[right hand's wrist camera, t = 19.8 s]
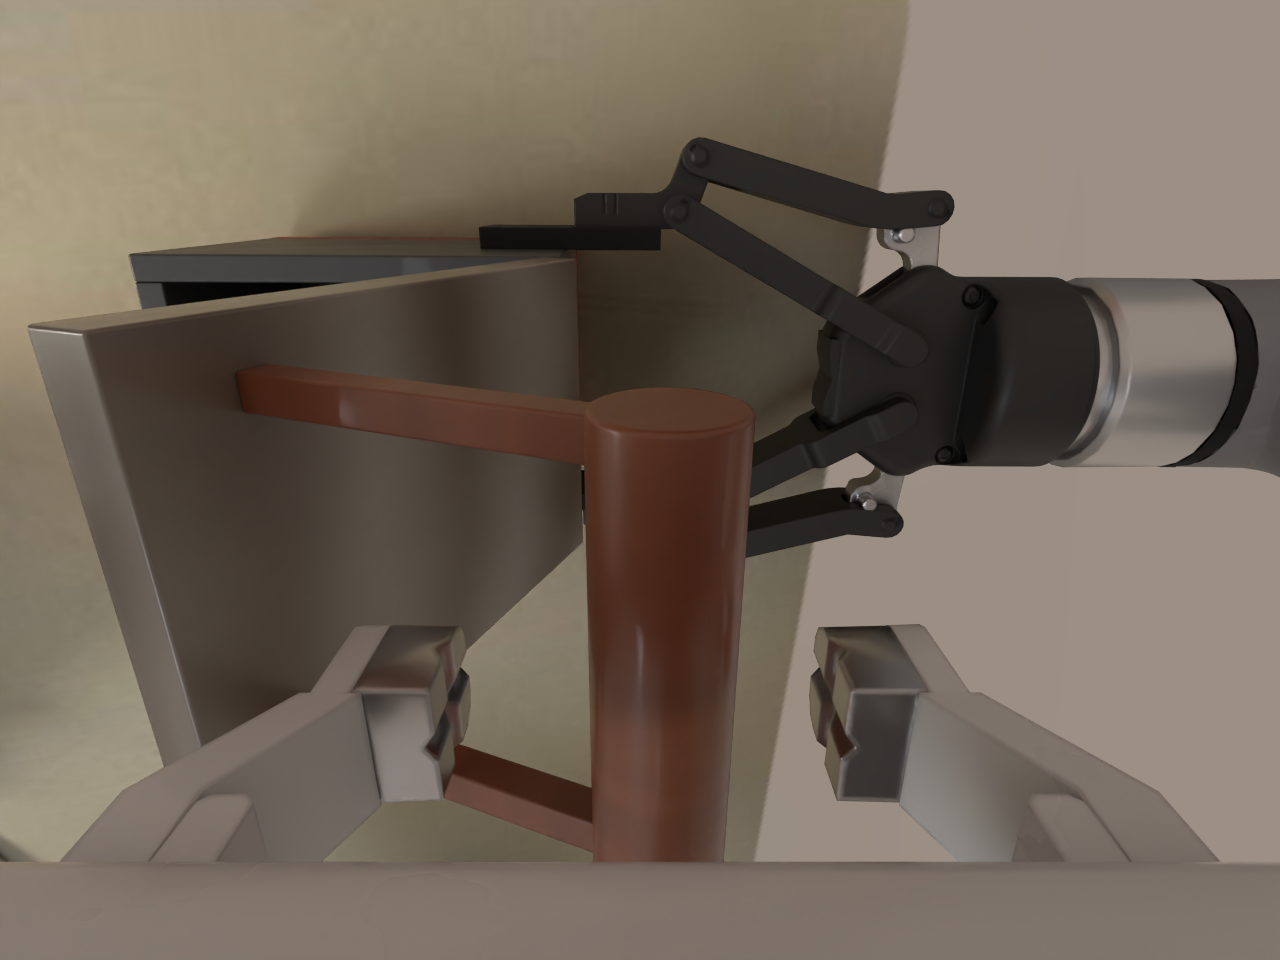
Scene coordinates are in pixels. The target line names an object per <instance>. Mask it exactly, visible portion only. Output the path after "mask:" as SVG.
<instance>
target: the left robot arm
mask: <svg viewBox="0 0 1280 960" xmlns="http://www.w3.org/2000/svg"><path fill="white" fill-rule="evenodd" d="M708 182H710V183H713V184H716V185H720V186H723V187H726V188H730V189H733V190H736V191H740V192H743V193H746V194H750V195H753V196H756V197H760V198H763V199H767V200H770V201H773V202H777V203H780V204H783V205H787V206H790V207H793V208H797V209H800V210H803V211H807V212H810V213H813V214H817V215H820V216H823V217H827V218H830V219H833V220H837V221H840V222H844V223H847V224H851V225H856V226H862V227H870V228H877V240H878V242H879V244H880V245H881V246H882V247H884V248H886V249H891V250H895V251H896V252H898V253H899V254H900V255H901V257H902V260H903V267H901V268H899V269H898V270H896V271H895V272H893V273H892V274H890V275H889V276H887V277H886V278H884V279H883V280H882V281H880V282H879V283H877V284H876V285H874V286H873V287H871V288H870V289H868V290H867V291H865V292H864V293H862V294H861V295H859V296H858V297H855V296H854V295H852V294H850V293H849V292H847V291H845V290H844V289H842V288H840V287H838V286H837V285H835V284H833V283H831V282H830V281H828V280H826V279H825V278H823V277H821V276H820V275H818V274H816V273H815V272H813V271H811V270H810V269H808V268H806V267H805V266H803V265H801V264H800V263H798V262H796V261H795V260H793V259H791V258H790V257H788V256H787V255H785V254H783V253H782V252H780V251H778V250H777V249H775V248H773V247H772V246H770V245H768V244H767V243H765V242H763V241H762V240H760V239H758V238H757V237H755V236H753V235H752V234H750V233H748V232H747V231H745V230H744V229H742V228H740V227H739V226H737V225H735V224H734V223H732V222H730V221H729V220H727V219H725V218H724V217H722V216H720V215H719V214H717V213H715V212H714V211H712V210H710V209H709V208H707V207H706V206H704V205H702V204H701V203H700V202H701V199H702V196H703V194H704V191H705V188H706V186H707V183H708ZM953 211H954V200H953V198H952V196H951V195H950V194H949V193H947V192H946V191H940V190H933V191H910V192H899V193H884V192H881V191H877V190H874V189H871V188H868V187H864V186H861V185H858V184H855V183H851V182H848V181H845V180H841V179H838V178H835V177H832V176H828V175H825V174H822V173H818V172H815V171H812V170H809V169H805V168H802V167H799V166H795V165H792V164H789V163H786V162H782V161H779V160H776V159H773V158H769V157H766V156H763V155H759V154H756V153H753V152H750V151H746V150H743V149H740V148H736V147H733V146H730V145H727V144H723V143H720V142H717V141H713V140H710V139H707V138H699V137H698V138H695V139H693V140H691V141H690V142H689V143H688V144H687V145H686V146H685V147H684V149H683V150H682V152H681V154H680V158H679V160H678V163H677V166H676V169H675V172H674V175H673V177H672V180H671V182H670V184H669V185H668V186H667V187H666V188H665V189H664V190H663V191H661V192H658V193H587V194H585V195H582V196H580V197H578V198H575V199H574V213H575V225H490V226H484V227H479V235H480V248H481V249H565V250H660V247H661V229H675V230H676V231H678V232H680V233H681V234H683V235H685V236H686V237H688V238H690V239H691V240H693V241H695V242H696V243H698V244H700V245H702V246H703V247H705V248H707V249H708V250H710V251H712V252H713V253H715V254H717V255H718V256H720V257H722V258H723V259H725V260H727V261H729V262H730V263H732V264H734V265H735V266H737V267H739V268H740V269H742V270H744V271H745V272H747V273H749V274H750V275H752V276H754V277H756V278H757V279H759V280H761V281H762V282H764V283H766V284H767V285H769V286H771V287H772V288H774V289H776V290H777V291H779V292H781V293H783V294H784V295H786V296H788V297H789V298H791V299H793V300H794V301H796V302H798V303H799V304H801V305H803V306H804V307H806V308H808V309H810V310H811V311H813V312H815V313H816V314H818V315H819V316H821V317H823V318H824V319H826V320H828V321H827V322H826V324H825V326H824V328H823V330H819V332H818V342H817V352H818V358H819V364H820V369H819V372H818V374H817V377H816V380H815V383H814V385H813V394H812V404H813V406H814V407H815V408H814V409H812V410H810V411H808V412H806V413H804V414H802V415H800V416H799V417H797V418H795V419H794V420H793V421H792V423H791V424H790V425H789V426H787V427H785V428H783V429H781V430H779V431H777V432H775V433H773V434H771V435H769V436H767V437H765V438H763V439H761V440H759V441H757V442H755V443H754V444H753V458H752V472H751V486H750V498H751V497H753V496H756V495H758V494H760V493H762V492H764V491H766V490H768V489H770V488H772V487H774V486H776V485H778V484H780V483H782V482H785V481H787V480H789V479H791V478H793V477H795V476H797V475H799V474H801V473H803V472H805V471H807V470H809V469H812V468H824V467H827V466H830V465H832V464H834V463H836V462H838V461H840V460H842V459H844V458H846V457H848V456H850V455H852V454H854V453H858V454H860V455H861V456H862V457H864V458H865V459H866V460H868V461H869V462H870V463H872V464H873V465H874V466H875V467H874V470H873V471H872V472H871V473H870V474H869V475H867V476H865V477H862V478H853V479H851V480H850V481H849V482H848V484H847V486H846V488H840V487H838V488H827V489H822V490H817V491H812V492H808V493H804V494H800V495H795V496H791V497H787V498H783V499H778V500H774V501H770V502H766V503H762V504H757V505H753V506H749V514H748V528H747V541H746V555H745V558H747V557H751V556H756V555H760V554H764V553H769V552H773V551H777V550H782V549H786V548H790V547H795V546H799V545H804V544H808V543H812V542H817V541H821V540H825V539H829V538H834V537H838V536H843V535H847V534H849V535H861V536H872V537H885V538H888V537H893V536H895V535H897V534H898V533H899V532H900V531H901V530H902V528H903V523H904V521H903V519H902V517H901V515H900V514H899V513H898V512H897V510H896V508H897V504H898V500H899V496H900V492H901V488H902V484H903V480H904V476H905V475H908V474H911V473H913V472H915V471H917V470H919V469H922V468H925V467H928V466H932V465H950V466H1041V465H1045V464H1048V463H1050V464H1052V465H1056V466H1061V467H1129V466H1158V467H1176V466H1185V467H1234V468H1248V469H1255V470H1260V471H1264V472H1268V473H1271V474H1274V475H1276V476H1278V477H1280V279H1270V280H1202V279H1158V278H1157V279H1156V278H1075V279H1072V280H1070V281H1067V282H1066V281H1064V280H1062V279H1059V278H1054V277H958V276H953V275H951V274H949V273H948V272H946V271H945V270H943V269H942V268H940V267H938V253H939V239H940V225H943V224H944V223H945V222H947V221H948V220H949V219H950V217H951V216H952V214H953ZM581 487H582V510H583V519H584V524H585V525H586V514H585V470H581Z"/></svg>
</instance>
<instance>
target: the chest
mask: <svg viewBox="0 0 1280 960" xmlns="http://www.w3.org/2000/svg"><path fill="white" fill-rule="evenodd" d="M541 257H543V258H568V259H575V260H576V283H577V250H565V249H481V248H480V238H366V237H277V238H271V239H262V240H253V241H244V242H234V243H225V244H216V245H207V246H197V247H188V248H179V249H170V250H160V251H151V252H142V253H133V254H129V260H130V264H131V268H132V272H133V276H134V280H135V281H136V282H137V283H136V284H135V285H136V289H137V293H138V297H139V301H140V305H141V309H149V308H157V307H165V306H172V305H180V304H188V303H195V302H203V301H211V300H218V299H226V298H234V297H242V296H249V295H257V294H265V293H272V292H280V291H288V290H295V289H303V288H311V287H318V286H326V285H334V284H341V283H349V282H357V281H364V280H372V279H380V278H387V277H395V276H403V275H410V274H418V273H426V272H434V271H441V270H449V269H457V268H464V267H472V266H480V265H487V264H495V263H503V262H510V261H518V260H526V259H533V258H541ZM577 324H578V286H577ZM578 364H579V328H578ZM579 401H580V370H579Z"/></svg>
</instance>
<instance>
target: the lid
mask: <svg viewBox="0 0 1280 960" xmlns="http://www.w3.org/2000/svg"><path fill="white" fill-rule="evenodd" d="M28 332H29V335H30V339H31V342H32V345H33V348H34V351H35V355H36V358H37V361H38V364H39V367H40V371H41V374H42V377H43V380H44V384H45V387H46V390H47V393H48V396H49V400H50V403H51V406H52V409H53V412H54V416H55V419H56V422H57V425H58V428H59V432H60V435H61V438H62V441H63V444H64V448H65V451H66V454H67V457H68V460H69V464H70V467H71V470H72V473H73V476H74V480H75V483H76V486H77V489H78V493H79V496H80V499H81V502H82V505H83V509H84V512H85V515H86V518H87V521H88V525H89V528H90V531H91V534H92V537H93V541H94V544H95V547H96V550H97V553H98V557H99V560H100V563H101V566H102V569H103V573H104V576H105V579H106V582H107V585H108V589H109V592H110V595H111V598H112V601H113V605H114V608H115V611H116V614H117V618H118V621H119V624H120V627H121V630H122V634H123V637H124V640H125V643H126V646H127V650H128V653H129V656H130V659H131V662H132V666H133V669H134V672H135V675H136V678H137V682H138V685H139V688H140V691H141V694H142V698H143V701H144V704H145V707H146V710H147V714H148V717H149V720H150V723H151V727H152V730H153V733H154V736H155V739H156V743H157V746H158V749H159V752H160V755H161V759H162V762H163V765H164V767H166V766H168V765H170V764H171V763H173V762H175V761H177V760H179V759H180V758H182V757H184V756H186V755H188V754H189V753H191V752H193V751H195V750H197V749H198V748H200V747H202V746H204V745H206V744H207V743H209V742H211V741H213V740H215V739H217V738H218V737H220V736H222V735H224V734H226V733H227V732H229V731H231V730H233V729H235V728H236V727H238V726H240V725H242V724H244V723H245V722H247V721H249V720H251V719H253V718H254V717H256V716H258V715H260V714H262V713H263V712H265V711H267V710H269V709H271V708H273V707H274V706H276V705H278V704H280V703H282V702H283V701H285V700H287V699H289V698H291V697H292V696H294V695H296V694H298V693H310V692H311V690H312V689H313V687H314V686H315V684H316V683H317V681H318V680H319V679H320V677H321V676H322V674H323V673H324V671H325V670H326V668H327V667H328V665H329V664H330V662H331V661H332V659H333V658H334V656H335V655H336V654H337V652H338V651H339V649H340V648H341V646H342V645H343V643H344V642H345V640H346V639H347V637H348V636H349V634H350V633H351V632H352V630H353V629H354V628H355V627H357V626H360V625H393V626H394V625H425V626H460V627H461V629H462V630H463V632H464V638H465V645H466V650H467V649H468V648H469V647H470V646H471V645H472V644H473V643H475V642H476V641H477V640H478V639H479V638H480V637H481V636H482V635H483V634H484V633H485V632H486V631H487V630H489V629H490V628H491V627H492V626H493V625H494V624H495V623H496V622H497V621H498V620H499V619H500V618H501V617H503V616H504V615H505V614H506V613H507V612H508V611H509V610H510V609H511V608H512V607H513V606H514V605H515V604H517V603H518V602H519V601H520V600H521V599H522V598H523V597H524V596H525V595H526V594H527V593H528V592H530V591H531V590H532V589H533V588H534V587H535V586H536V585H537V584H538V583H539V582H540V581H541V580H542V579H544V578H545V577H546V576H547V575H548V574H549V573H550V572H551V571H552V570H553V569H554V568H555V567H556V566H558V565H559V564H560V563H561V562H562V561H563V560H564V559H565V558H566V557H567V556H568V555H569V554H570V553H572V552H573V551H574V550H575V549H576V548H577V547H578V546H579V545H580V544H581V543H582V542H583V528H582V487H581V465H584V470H585V514H586V559H587V603H588V647H589V692H590V736H591V781H592V788H590V787H587V786H584V785H581V784H578V783H575V782H571V781H568V780H565V779H562V778H559V777H556V776H553V775H550V774H547V773H544V772H541V771H538V770H535V769H532V768H529V767H526V766H523V765H520V764H517V763H514V762H511V761H508V760H505V759H502V758H499V757H496V756H493V755H490V754H487V753H484V752H481V751H478V750H475V749H472V748H469V747H466V746H463V745H460V744H458V745H457V746H456V747H454V756H455V767H454V770H453V773H452V776H451V779H450V781H449V784H448V787H447V790H446V793H445V796H444V798H446V799H449V800H451V801H454V802H457V803H459V804H462V805H465V806H468V807H470V808H473V809H476V810H479V811H481V812H484V813H487V814H489V815H492V816H495V817H498V818H500V819H503V820H506V821H508V822H511V823H514V824H517V825H519V826H522V827H525V828H528V829H530V830H533V831H536V832H538V833H541V834H544V835H547V836H549V837H552V838H555V839H557V840H560V841H563V842H566V843H568V844H571V845H574V846H577V847H579V848H582V849H585V850H587V851H590V852H593V862H724V848H725V834H726V820H727V806H728V792H729V778H730V765H731V751H732V737H733V723H734V709H735V695H736V681H737V667H738V653H739V639H740V625H741V611H742V597H743V583H744V569H745V555H746V541H747V528H748V514H749V500H750V486H751V472H752V458H753V444H754V430H755V415H754V412H753V409H752V408H751V407H750V406H749V405H748V404H746V403H745V402H743V401H741V400H738V399H736V398H733V397H730V396H727V395H724V394H720V393H716V392H711V391H705V390H698V389H688V388H667V387H663V388H640V389H631V390H625V391H619V392H615V393H611V394H608V395H604V396H602V397H599V398H597V399H595V400H593V401H591V402H585V401H579V364H578V324H577V283H576V260H575V259H568V258H543V257H541V258H533V259H526V260H518V261H510V262H503V263H495V264H487V265H480V266H472V267H464V268H457V269H449V270H441V271H434V272H426V273H418V274H410V275H403V276H395V277H387V278H380V279H372V280H364V281H357V282H349V283H341V284H334V285H326V286H318V287H311V288H303V289H295V290H288V291H280V292H272V293H265V294H257V295H249V296H242V297H234V298H226V299H218V300H211V301H203V302H195V303H188V304H180V305H172V306H165V307H157V308H149V309H142V310H134V311H126V312H119V313H111V314H103V315H96V316H88V317H80V318H73V319H65V320H57V321H50V322H42V323H34V324H31V325H29V326H28Z"/></svg>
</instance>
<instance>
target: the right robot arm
mask: <svg viewBox="0 0 1280 960" xmlns="http://www.w3.org/2000/svg"><path fill="white" fill-rule="evenodd" d="M465 653H466V645H465V638H464V632H463V630H462V629H461V627H460V626H425V625H394V626H393V625H360V626H357V627H355V628H354V629H353V630H352V632H351V633H350V634H349V636H348V637H347V639H346V640H345V642H344V643H343V645H342V646H341V648H340V649H339V651H338V652H337V654H336V655H335V656H334V658H333V659H332V661H331V662H330V664H329V665H328V667H327V668H326V670H325V671H324V673H323V674H322V676H321V677H320V679H319V680H318V681H317V683H316V684H315V686H314V687H313V689H312V690H311V692H310V693H298V694H296V695H294V696H292V697H291V698H289V699H287V700H285V701H283V702H282V703H280V704H278V705H276V706H274V707H273V708H271V709H269V710H267V711H265V712H263V713H262V714H260V715H258V716H256V717H254V718H253V719H251V720H249V721H247V722H245V723H244V724H242V725H240V726H238V727H236V728H235V729H233V730H231V731H229V732H227V733H226V734H224V735H222V736H220V737H218V738H217V739H215V740H213V741H211V742H209V743H207V744H206V745H204V746H202V747H200V748H198V749H197V750H195V751H193V752H191V753H189V754H188V755H186V756H184V757H182V758H180V759H179V760H177V761H175V762H173V763H171V764H170V765H168V766H166V767H164V768H162V769H160V770H159V771H157V772H155V773H153V774H151V775H150V776H148V777H146V778H144V779H142V780H141V781H139V782H137V783H135V784H133V785H132V786H130V787H128V788H126V789H124V790H123V791H122V792H121V793H120V794H119V795H118V796H117V797H116V798H115V800H114V801H113V802H112V803H111V804H110V805H109V806H108V808H107V809H106V810H105V811H104V812H103V813H102V814H101V815H100V817H99V818H98V819H97V820H96V821H95V822H94V823H93V824H92V826H91V827H90V828H89V829H88V830H87V831H86V832H85V833H84V835H83V836H82V837H81V838H80V839H79V840H78V841H77V843H76V844H75V845H74V846H73V847H72V848H71V849H70V850H69V852H68V853H67V854H66V855H65V856H64V857H63V858H62V859H61V861H60V862H0V960H1280V862H1220V861H1219V859H1218V858H1217V857H1216V856H1215V855H1214V854H1213V853H1212V852H1211V850H1210V849H1209V848H1208V847H1207V846H1206V845H1205V844H1204V842H1203V841H1202V840H1201V839H1200V838H1199V837H1198V836H1197V834H1196V833H1195V832H1194V831H1193V830H1192V829H1191V828H1190V826H1189V825H1188V824H1187V823H1186V822H1185V821H1184V820H1183V819H1182V817H1181V816H1180V815H1179V814H1178V813H1177V812H1176V811H1175V809H1174V808H1173V807H1172V806H1171V805H1170V804H1169V803H1168V801H1167V800H1166V799H1165V798H1164V797H1163V796H1162V795H1161V793H1160V792H1159V791H1157V790H1155V789H1153V788H1151V787H1150V786H1148V785H1146V784H1144V783H1142V782H1141V781H1139V780H1137V779H1135V778H1133V777H1132V776H1130V775H1128V774H1126V773H1124V772H1123V771H1121V770H1119V769H1117V768H1115V767H1114V766H1112V765H1110V764H1108V763H1106V762H1105V761H1103V760H1101V759H1099V758H1097V757H1096V756H1094V755H1092V754H1090V753H1088V752H1087V751H1085V750H1083V749H1081V748H1079V747H1078V746H1076V745H1074V744H1072V743H1070V742H1069V741H1067V740H1065V739H1063V738H1061V737H1060V736H1058V735H1056V734H1054V733H1052V732H1051V731H1049V730H1047V729H1045V728H1043V727H1042V726H1040V725H1038V724H1036V723H1034V722H1033V721H1031V720H1029V719H1027V718H1025V717H1024V716H1022V715H1020V714H1018V713H1016V712H1015V711H1013V710H1011V709H1009V708H1007V707H1006V706H1004V705H1002V704H1000V703H998V702H997V701H995V700H993V699H991V698H989V697H988V696H986V695H984V694H982V693H970V692H969V690H968V689H967V687H966V686H965V685H964V683H963V682H962V680H961V679H960V677H959V676H958V674H957V673H956V671H955V670H954V669H953V667H952V666H951V664H950V663H949V661H948V660H947V658H946V657H945V655H944V654H943V653H942V651H941V650H940V648H939V647H938V645H937V644H936V642H935V641H934V639H933V638H932V637H931V635H930V634H929V632H928V631H927V629H926V628H925V627H923V626H922V625H920V624H911V625H886V626H855V627H819V628H818V630H817V633H816V636H815V644H814V653H815V656H816V659H817V661H818V664H819V668H818V669H817V670H816V671H815V672H814V673H813V674H812V676H811V681H810V694H809V698H810V715H811V720H812V725H813V729H814V733H815V736H816V739H817V741H818V742H819V743H820V744H822V745H823V746H824V747H826V756H825V767H826V770H827V772H828V775H829V778H830V781H831V784H832V787H833V790H834V793H835V796H836V799H837V801H867V802H900V803H899V806H900V807H901V808H903V809H904V810H905V811H906V812H907V813H908V814H909V815H910V816H911V817H912V818H913V819H914V820H915V821H916V822H917V823H918V824H919V825H920V826H922V827H923V828H924V829H925V830H926V831H927V832H928V833H929V834H930V835H931V836H932V837H933V838H934V839H935V840H936V841H937V842H938V843H939V844H941V845H942V846H943V847H944V848H945V849H946V850H947V851H948V852H949V853H950V854H951V855H952V856H953V857H954V858H955V859H956V860H957V861H958V862H322V861H323V860H324V859H325V858H326V857H327V856H328V855H329V854H330V853H331V852H332V851H333V850H335V849H336V848H337V847H338V846H339V845H340V844H341V843H342V842H343V841H344V840H345V839H346V838H347V837H348V836H349V835H350V834H351V833H352V832H354V831H355V830H356V829H357V828H358V827H359V826H360V825H361V824H362V823H363V822H364V821H365V820H366V819H367V818H368V817H369V816H370V815H372V814H373V813H374V812H375V811H376V810H377V809H378V808H379V807H380V806H381V804H380V802H412V801H443V799H444V796H445V793H446V790H447V787H448V784H449V781H450V779H451V776H452V773H453V770H454V767H455V756H454V747H456V746H457V745H458V744H460V743H461V742H462V741H463V739H464V736H465V733H466V729H467V726H468V719H469V713H470V680H469V676H468V674H467V673H466V672H465V671H464V670H463V669H462V668H461V664H462V661H463V659H464V656H465Z"/></svg>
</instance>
